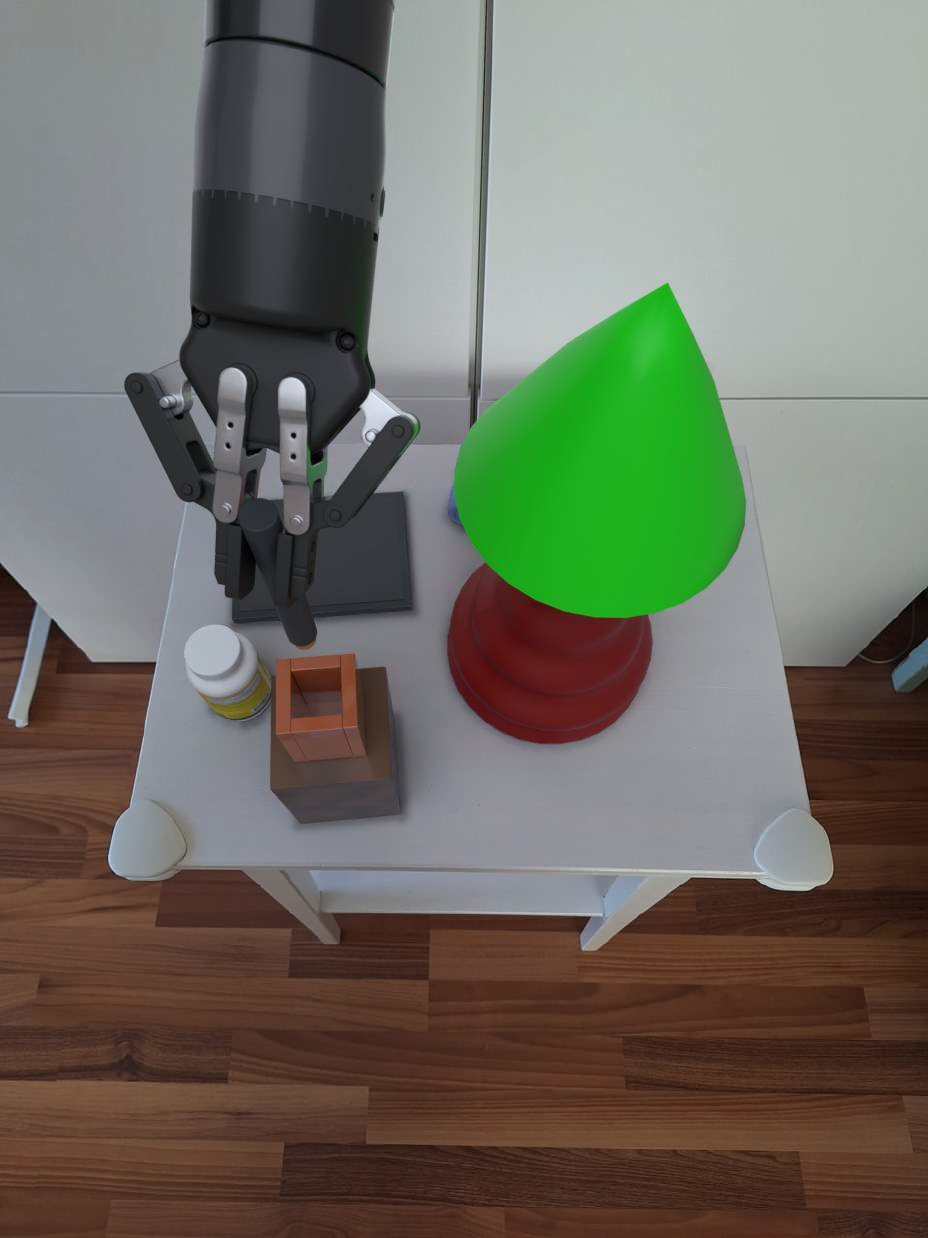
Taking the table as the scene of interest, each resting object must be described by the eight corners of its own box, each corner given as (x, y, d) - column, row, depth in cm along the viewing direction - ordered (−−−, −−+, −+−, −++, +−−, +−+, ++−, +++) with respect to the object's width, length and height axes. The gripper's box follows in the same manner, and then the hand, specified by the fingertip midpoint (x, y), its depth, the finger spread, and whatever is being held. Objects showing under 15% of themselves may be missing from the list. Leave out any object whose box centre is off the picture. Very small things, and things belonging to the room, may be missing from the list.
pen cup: (294, 763, 57) (275, 734, 50) (294, 695, 59) (275, 658, 53) (367, 757, 58) (357, 727, 51) (363, 689, 60) (354, 652, 53)
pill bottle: (213, 663, 75) (179, 615, 65) (277, 663, 75) (253, 615, 65) (205, 724, 73) (168, 683, 63) (271, 724, 73) (245, 683, 63)
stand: (300, 824, 69) (269, 789, 56) (299, 728, 73) (270, 675, 60) (400, 814, 70) (392, 778, 57) (394, 720, 73) (385, 666, 61)
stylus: (290, 654, 47) (237, 532, 34) (289, 627, 47) (238, 498, 35) (320, 652, 47) (278, 529, 34) (319, 625, 47) (278, 496, 35)
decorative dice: (454, 493, 85) (455, 471, 81) (490, 499, 84) (492, 478, 81) (447, 523, 83) (447, 502, 79) (483, 529, 83) (485, 509, 79)
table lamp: (439, 569, 80) (443, 152, 40) (624, 558, 82) (810, 142, 41) (455, 753, 72) (480, 464, 31) (660, 737, 74) (940, 439, 33)
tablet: (233, 623, 77) (231, 619, 76) (237, 506, 83) (235, 501, 82) (412, 610, 78) (411, 605, 77) (403, 496, 84) (403, 490, 83)
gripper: (75, 157, 28) (84, 597, 34) (441, 213, 28) (387, 651, 34) (169, 195, 35) (163, 555, 41) (462, 241, 35) (414, 599, 41)
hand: (264, 597), depth 37 cm, fingers closed on stylus, 2 cm apart
